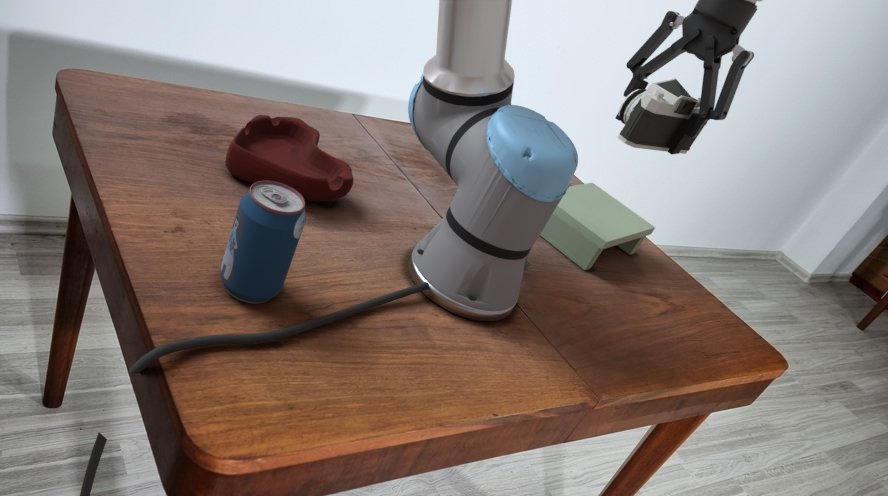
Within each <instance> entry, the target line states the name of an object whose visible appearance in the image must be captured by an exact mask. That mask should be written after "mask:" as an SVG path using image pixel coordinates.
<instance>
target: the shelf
mask: <svg viewBox="0 0 888 496" xmlns="http://www.w3.org/2000/svg"><path fill="white" fill-rule="evenodd" d="M655 229H656V226H654V225H653V224H652V223H650V222H649V221H647V220H646V219H644V218H643V217H641V216H640V215H639V214H638V213H636V212H635V211H633V210H632V209H630V208H629V207H628V206H626V205H625V204H623V203H622V202H620V201H619V200H618V199H616V198H615V197H614V196H612V195H611V194H609V193H608V192H606V190H603V188H601V187H600V186H599V185H597V184H595V183H594V182H588V183H582V184H576V185H569V188H568V189H567V191H566V193H565V195H564V196H563V197H562V199H561V201H560V202H559V204H558V205H557V207H556V209H555V210H554V212H553V214H552V215H551V217H550V219H549V220H548V222H547V224H546V225H545V227H544V229H543V230H542V232H541V234H540V235H539V237H542V238H543V239H544V240H545V241H547V243H549V244H550V245H552V246H553V247H554V248H555V249H557V250H558V251H559V252H560V253H562V254H563V255H565V256H566V257H567V258H568V259H569V260H571V262H573V263H575V264H576V265H577V266H578V267H579V268H581V269H582V270H583V271H587V270H591V268H592V267H593V266H594V264H595V262H596V261H597V259H598V258H599V256H600V255H601V254H602V252H603V250H606V249H609V248H612V247H615V246H617V248H619V249H621V250H622V251H624V253H626V254H627V255H630V256H631V255H634V254H636V253H637V250H638V249H639V248H640V247H641V244H642V243H643V241H644V240H645V239H646V237H647V236H650V235H652V234H653V232H654V231H655Z"/></svg>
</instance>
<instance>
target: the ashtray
mask: <svg viewBox="0 0 888 496" xmlns="http://www.w3.org/2000/svg"><path fill="white" fill-rule="evenodd" d="M320 135H321V133H320V130H318V129H316V128H315V127H313V126H311V125H309V124H307V122H305V121H304V120H303V119H301V118H298V117H293V116H275V117H271V116H270V115H269V114H268V115H266V114H259V115H258V114H257V115H255V116H254V117H253V118H251V119H250V120H249V121H248V122H247V123H246V124H245V126H244V127H241V129H240V130H239V131H238V132H237V133H236V134H235V135H234V137H233V139H232V140H231V141H230V144H229V145H228V148H227V152H226V154H225V162H224V163H225V168H226V169H227V171H228V172H229V173H230V174H231V175H232V176H233V178H235V179H237V180H240V181H243V182H249V183H252V184H254V183H255V182H258V181H275V182H279V183H282V184H285V185H287V186H289V187H291V188H293V189H295V190H296V191H297V192H299V193H300V194H301V195H302V197H303V198H304V200H305V201H310V202H315V203H318V204H319V205H323V206H331V205H332V204H333V202H335V201H337V200H340V199H342V198H344V197H345V196H347V195H348V194H349V193H350V191H351V190H352V187H353V185H354V180H355V179H354V176H353V175H354V174H353V171H352V168H351V166H350V164H349V163H347V162H346V161H344V160H342V159H339V158H337V157H335V156H333V155H331V154H329V153H327V152H325V151H324V150H323V149H321V148H320V147H319V142H320Z"/></svg>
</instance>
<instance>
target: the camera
mask: <svg viewBox="0 0 888 496" xmlns="http://www.w3.org/2000/svg"><path fill="white" fill-rule="evenodd" d="M700 100H701V97H698V98H697V99H696V98H695V97H694V96H693V97H692V96H691V94H690V93H689V92H688V91H687V90H686V89H685V87H683V85H682V84H681V83H680V81H678V80H677V78H675V77H674V78H670V79H666V80H662V81H656V82H653V83H652V82H651V84H650V85H649V84H648V85H647V87H646V89H637V90H635V91H633V92H631V93H630V94H629V95H628V96H627V97H625V98H624V99H623V100H622V102H621V104H620V106H619V108H618V112H619V117H620V122H621V124H623V125H624V126H623V127H622V129H621V130H620V132H619V133H618V136H617V139H618V140H619V141H620V142H622V143H624V144H626V145H627V146H630V147H632V148H633V149H634V148H635V149H640V150H641V149H642V150H651V151H659V152H667V153H668V150H669V149H670V147H671V146H672V144H673V143H674V141H675V140H676V138H677V136H678V135H679V133H680V132H681V130H682V129H683V127H684V126H685V124H686V123H687V121H688V119H689V118H690V116H691V115H692V113H699V109H700ZM707 124H708V122H707V123H706V125H707ZM697 138H698V136H697V137H695V138H691V137H689V139H688V140H687V142H686V143H685V145H684V146H683V148H682V149H681V151H680V152H679V154H683V155H686V154H687V153H688V152H689V151H690V150H691V147H692V145H693V144H694V142H695V141H696V139H697Z"/></svg>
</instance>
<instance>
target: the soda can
mask: <svg viewBox="0 0 888 496" xmlns="http://www.w3.org/2000/svg"><path fill="white" fill-rule="evenodd" d="M305 207H306V200H305V199H304V198H303V197H302V195H301V194H300V193H299V192H297V191H296V190H295V189H293V188H291V187H289V186H287V185H285V184H282V183H279V182H275V181H258V182H255V183H252V184H251V186H250V187H249V190H248V191H247V192H246V193H244V194H243V196H241V197H240V199H239V203H238V206H237V210H236V214H235V216H234V220H233V224H232V227H231V231H230V234H229V238H228V240H227V245H226V247H225V251H224V254H223V257H222V261H221V265H220V268H219V276H220V279H221V282H222V284H223V287H224V289H225V290H226V292H227V293H228V294H229V295H230V296H232V297H233V298H235V299H236V300H239V301H240V302H243V303H247V304H255V305H257V304H263V303H266V302H268V301H270V300H271V299H273V298H274V297H276V296H277V295H278V294H280V292H281V291H282V289H283V287H284V284H285V281H286V278H287V276H288V273H289V270H290V267H291V264H292V261H293V258H294V255H295V253H296V250H297V247H298V244H299V242H300V238H301V237H302V233H303V230H304V227H305V225H306V221H307V216H306V215H307V214H306V211H305Z"/></svg>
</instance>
